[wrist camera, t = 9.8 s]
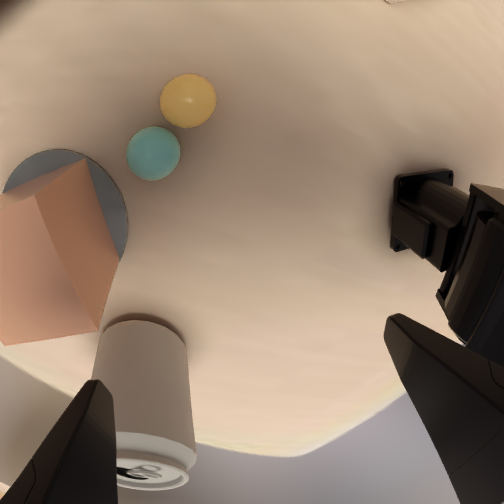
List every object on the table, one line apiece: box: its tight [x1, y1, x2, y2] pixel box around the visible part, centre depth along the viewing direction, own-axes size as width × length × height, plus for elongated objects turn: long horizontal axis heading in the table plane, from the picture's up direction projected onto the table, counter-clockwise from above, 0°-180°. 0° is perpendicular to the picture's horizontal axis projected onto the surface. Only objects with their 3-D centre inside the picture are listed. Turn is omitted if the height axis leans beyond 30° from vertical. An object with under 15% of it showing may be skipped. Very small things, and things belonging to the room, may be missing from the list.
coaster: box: [3, 149, 128, 261], centre depth 17 cm, size 10×10×1 cm
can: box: [91, 320, 197, 490], centre depth 18 cm, size 8×8×12 cm
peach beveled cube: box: [0, 158, 120, 346], centre depth 14 cm, size 7×7×7 cm
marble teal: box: [126, 126, 180, 181], centre depth 15 cm, size 3×3×3 cm
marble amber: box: [160, 74, 217, 128], centre depth 14 cm, size 3×3×3 cm
